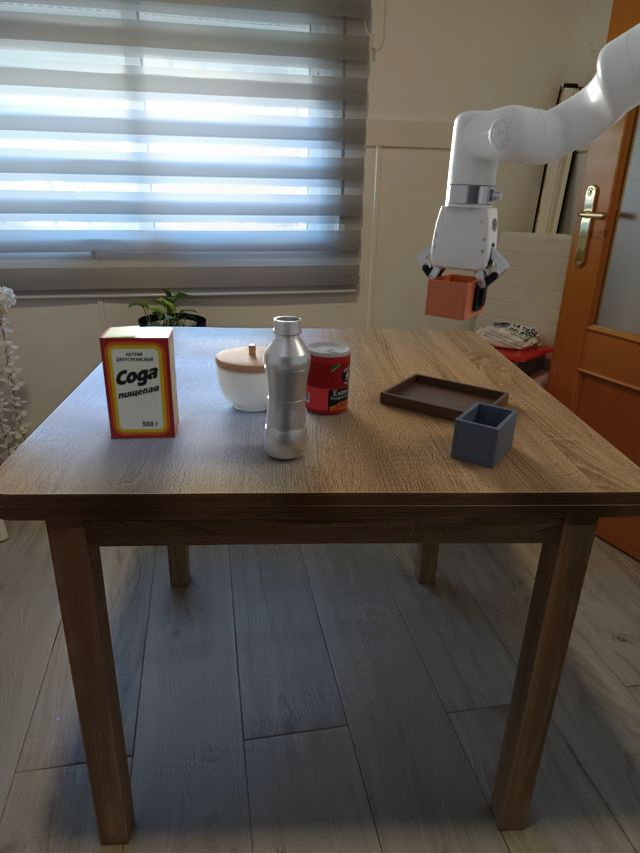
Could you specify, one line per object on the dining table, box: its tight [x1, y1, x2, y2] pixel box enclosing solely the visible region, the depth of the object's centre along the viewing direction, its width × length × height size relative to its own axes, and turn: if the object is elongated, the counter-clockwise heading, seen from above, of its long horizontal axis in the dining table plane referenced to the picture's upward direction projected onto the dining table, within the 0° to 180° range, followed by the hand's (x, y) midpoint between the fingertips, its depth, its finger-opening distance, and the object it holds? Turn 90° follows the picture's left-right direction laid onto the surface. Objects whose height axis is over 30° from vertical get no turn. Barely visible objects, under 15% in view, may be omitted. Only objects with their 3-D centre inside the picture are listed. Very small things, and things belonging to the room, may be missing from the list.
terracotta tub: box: [424, 272, 485, 322], centre depth 99 cm, size 7×10×6 cm
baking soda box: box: [98, 325, 180, 440], centre depth 88 cm, size 10×6×16 cm
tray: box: [379, 372, 510, 422], centre depth 106 cm, size 19×15×2 cm
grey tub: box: [450, 402, 519, 469], centre depth 86 cm, size 6×9×6 cm
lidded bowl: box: [214, 343, 268, 413], centre depth 100 cm, size 13×13×11 cm
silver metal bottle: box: [262, 315, 311, 460], centre depth 80 cm, size 6×7×20 cm
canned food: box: [305, 341, 352, 416], centre depth 100 cm, size 8×8×11 cm
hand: (455, 306), depth 100 cm, fingers closed on terracotta tub, 7 cm apart
